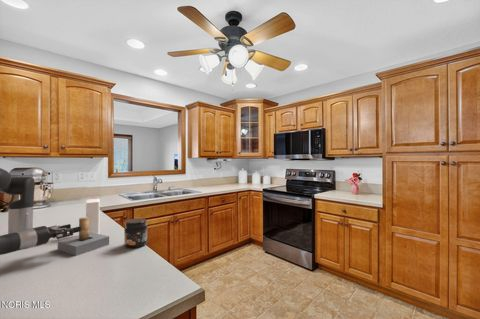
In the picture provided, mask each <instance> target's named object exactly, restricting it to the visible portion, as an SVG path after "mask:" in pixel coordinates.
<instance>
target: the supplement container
mask: <svg viewBox="0 0 480 319" xmlns="http://www.w3.org/2000/svg"><path fill="white" fill-rule="evenodd" d="M124 223H125V227H124V229H123V231H124V234H123V235H124V239H123V240H124V241H123V242H124V243H123V244H124V247H125V248H127V249H137V248H140V247H143V246H145V245H147V243H148V224H147V219H146V218H133V219H128V220H126V221H125V222H124Z"/></svg>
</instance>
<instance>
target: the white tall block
mask: <svg viewBox="0 0 480 319" xmlns="http://www.w3.org/2000/svg"><path fill="white" fill-rule="evenodd" d="M85 202H86V205H85V207H86V208H85V217H89V233H90V232H92V233H96V234H100V202H101V200H100V195H88V196H86V201H85Z"/></svg>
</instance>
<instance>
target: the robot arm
mask: <svg viewBox="0 0 480 319" xmlns="http://www.w3.org/2000/svg"><path fill="white" fill-rule="evenodd" d="M35 186H36V183H35V179H34V178H33V177H31V176H11V174H10V172H9V171H7V170H5V169H3V168H1V167H0V191H1V192H3V193H5V194H6V195H7V194H8V195H12V196H13V195H15V196H19V195H22V196H21V198H20V199H18V200H15V201H11V202H9V203H8V208H7V209H8V211H7V212H8V220H7V222H8V223H7V233H6V234H2V235H0V256H1V255H3V256H4V255H6V254H11V253H13V252H18V251H25V250H28V249H31V248H36V247H39V246H42V245H46V244H47V243H48V242H49V241H50V239H57V240H60V239H63V238H64V239H65V238H67V237H73V236H74V234H75V233H79V232H80V231H81V227H80V226H75V227H71V226H72V225H71V224H69V223H68V224H63V225H52V226H48V227H47V226H46V225H41V226H37V227H33V226H34V223H33V220H34V199H35V189H36V188H35Z"/></svg>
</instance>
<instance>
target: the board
mask: <svg viewBox="0 0 480 319" xmlns="http://www.w3.org/2000/svg"><path fill="white" fill-rule="evenodd" d="M108 245H110V236H109V235H105V234H101V233H99V234H96V233H92V232H90V233H89V239H88V240H85V241H79V235H77V236H76V235H75V236H71V237H69V238H64V239H62V240H58V241H57V251H60V252H63V253H67V254H69V255H72V256H80V255H83V254H86V253H88V252H91V251H94V250H97V249H101V248H103V247H106V246H108Z"/></svg>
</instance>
